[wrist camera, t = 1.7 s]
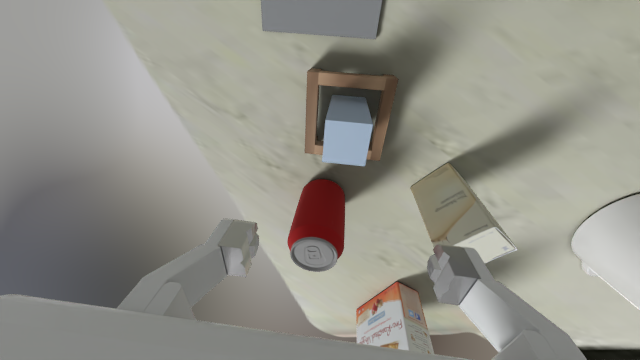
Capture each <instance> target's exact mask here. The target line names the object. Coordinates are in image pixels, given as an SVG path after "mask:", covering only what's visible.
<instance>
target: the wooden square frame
mask: <svg viewBox="0 0 640 360" xmlns="http://www.w3.org/2000/svg"><path fill="white" fill-rule="evenodd" d="M397 83H398V78H396V77H395V76H394V75H386V74H383V76H377V75H365V74H353V73H342V72H330V71H322V69H314V68H311V69H310V70H309V71H307V99H306V132H305V153H309V154H319V155H323V144H324V141H317V137H318V136H316V135H317V118H318V101H319V85H326V86H338V87H349V88H361V89H372V90H382V92H381V97H380V102H379V107H378V112H377V117H376V122H375V127H374V132H373V137H372V142H370V143H369V148H368V153H367V158H366V159H367V160H376V161H380V157H381V153H382V148H383V144H384V140H385V135H386V131H387V127H388V122H389V118H390V114H391V109H392V105H393V100H394V96H395V92H396V87H397Z"/></svg>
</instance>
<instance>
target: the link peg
mask: <svg viewBox="0 0 640 360" xmlns="http://www.w3.org/2000/svg"><path fill="white" fill-rule="evenodd" d="M372 127H373V123H372V119H371V115H370V112H369V108H368V105H367V101H366V98H365V97H353V96H342V95H332V98H331V102H330V105H329V109H328V112H327V116H326V119H325V131H324V144H323V157H322V162H328V163H338V164H347V165H357V166H365V163H366V158H367V153H368V148H369V143H370V138H371V132H372Z"/></svg>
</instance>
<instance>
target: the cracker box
mask: <svg viewBox="0 0 640 360" xmlns="http://www.w3.org/2000/svg"><path fill="white" fill-rule="evenodd" d="M356 312H357V343H359V344H366V345H373V346H380V347H387V348H394V349H401V350H408V351H415V352H422V353H429V354H434V352H433V348H432V344H431V340H430V336H429V332H428V328H427V325H426V321H425V317H424V313H423V309H422V305H421V301H420V298H419V294H418V292H417V291H415V290H413V289H411V288H409V287H407V286H405V285H403V284H401V283H399V282H396V283H394V284H393V285H391V286H390V287H388V288H387V289H386V290H384V291H383V292H381V293H380V294H378V295H377V296H376V297H374V298H373V299H371V300H370V301H368V302H367V303H365V304H364V305H363V306H361V307H360V308H358V309H357V311H356Z"/></svg>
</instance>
